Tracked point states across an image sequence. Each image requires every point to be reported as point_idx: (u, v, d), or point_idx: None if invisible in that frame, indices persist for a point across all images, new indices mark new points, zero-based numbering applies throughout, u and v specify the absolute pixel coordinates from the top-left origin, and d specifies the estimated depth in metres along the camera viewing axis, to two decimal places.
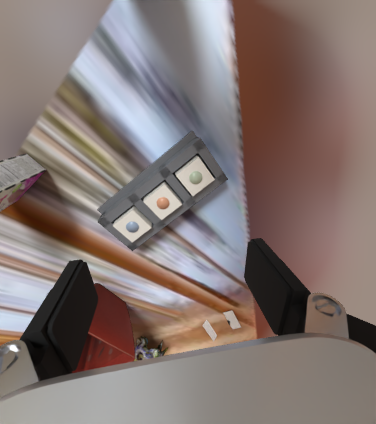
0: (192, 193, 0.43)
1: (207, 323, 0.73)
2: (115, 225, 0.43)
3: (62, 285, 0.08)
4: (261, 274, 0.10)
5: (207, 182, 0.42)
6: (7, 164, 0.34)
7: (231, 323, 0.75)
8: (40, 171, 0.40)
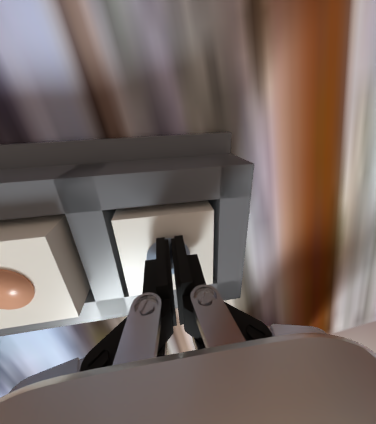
0: None
1: None
2: (205, 281, 0.14)
3: (162, 255, 0.10)
4: None
5: None
6: None
7: None
8: None
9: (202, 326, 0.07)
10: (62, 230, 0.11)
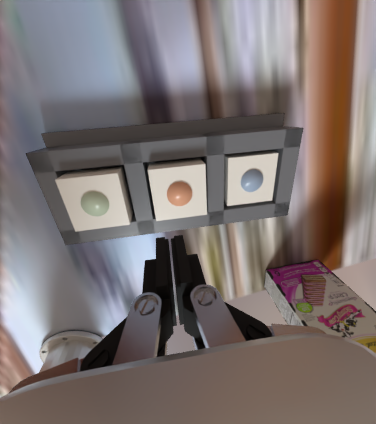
0: (115, 179, 0.20)
1: None
2: (268, 198, 0.25)
3: (162, 255, 0.10)
4: None
5: (74, 182, 0.19)
6: (285, 316, 0.32)
7: None
8: (271, 279, 0.36)
9: (202, 326, 0.07)
10: None
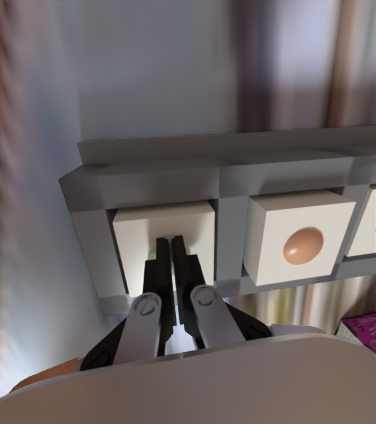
0: (209, 221, 0.12)
1: None
2: None
3: (162, 255, 0.10)
4: None
5: (142, 227, 0.11)
6: None
7: None
8: (353, 335, 0.27)
9: (202, 326, 0.07)
10: None
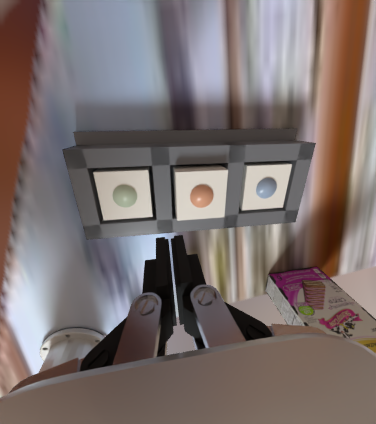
0: (145, 175, 0.23)
1: None
2: (279, 205, 0.27)
3: (162, 255, 0.10)
4: None
5: (109, 176, 0.22)
6: (287, 319, 0.34)
7: None
8: (274, 283, 0.37)
9: (202, 326, 0.07)
10: None
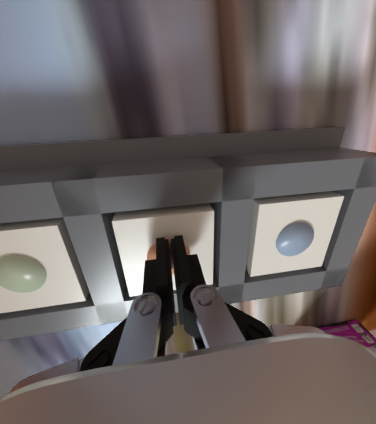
0: (53, 235, 0.11)
1: None
2: (316, 264, 0.15)
3: (162, 255, 0.10)
4: None
5: None
6: None
7: None
8: None
9: (202, 326, 0.07)
10: None
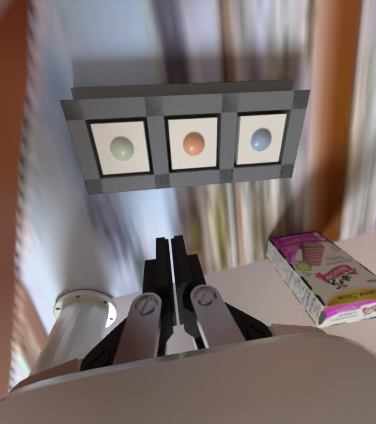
0: (140, 127, 0.23)
1: None
2: (275, 159, 0.27)
3: (162, 255, 0.10)
4: None
5: (106, 128, 0.23)
6: (285, 278, 0.35)
7: None
8: (273, 245, 0.38)
9: (202, 326, 0.07)
10: None
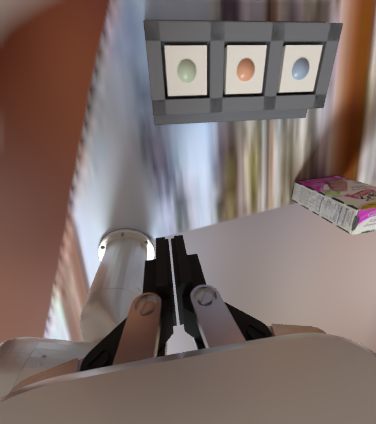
0: (204, 50, 0.28)
1: None
2: (310, 89, 0.32)
3: (162, 255, 0.10)
4: None
5: (176, 50, 0.27)
6: (314, 208, 0.39)
7: None
8: (300, 185, 0.42)
9: (202, 326, 0.07)
10: None
